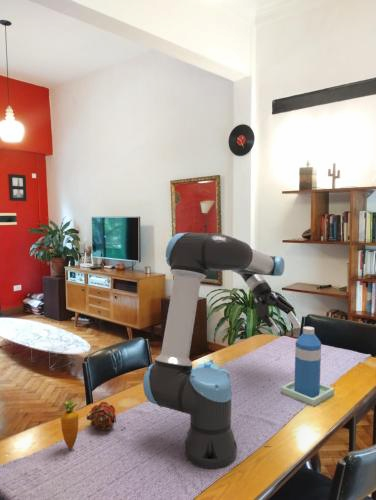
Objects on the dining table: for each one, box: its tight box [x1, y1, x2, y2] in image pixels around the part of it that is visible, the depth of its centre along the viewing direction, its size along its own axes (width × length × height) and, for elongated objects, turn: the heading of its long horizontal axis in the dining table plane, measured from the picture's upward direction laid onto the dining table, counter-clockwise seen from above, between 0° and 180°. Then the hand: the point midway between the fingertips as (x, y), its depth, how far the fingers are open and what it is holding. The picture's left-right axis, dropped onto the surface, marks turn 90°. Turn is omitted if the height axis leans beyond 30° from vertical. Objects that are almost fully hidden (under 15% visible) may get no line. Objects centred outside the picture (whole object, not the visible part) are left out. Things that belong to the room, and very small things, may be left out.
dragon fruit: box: [85, 401, 117, 431], centre depth 128 cm, size 8×8×12 cm
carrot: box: [60, 398, 79, 450], centre depth 115 cm, size 5×5×15 cm
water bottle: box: [294, 326, 322, 398], centre depth 148 cm, size 9×9×25 cm
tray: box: [280, 380, 335, 408], centre depth 150 cm, size 14×14×2 cm
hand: (288, 329), depth 155 cm, fingers open, 13 cm apart
